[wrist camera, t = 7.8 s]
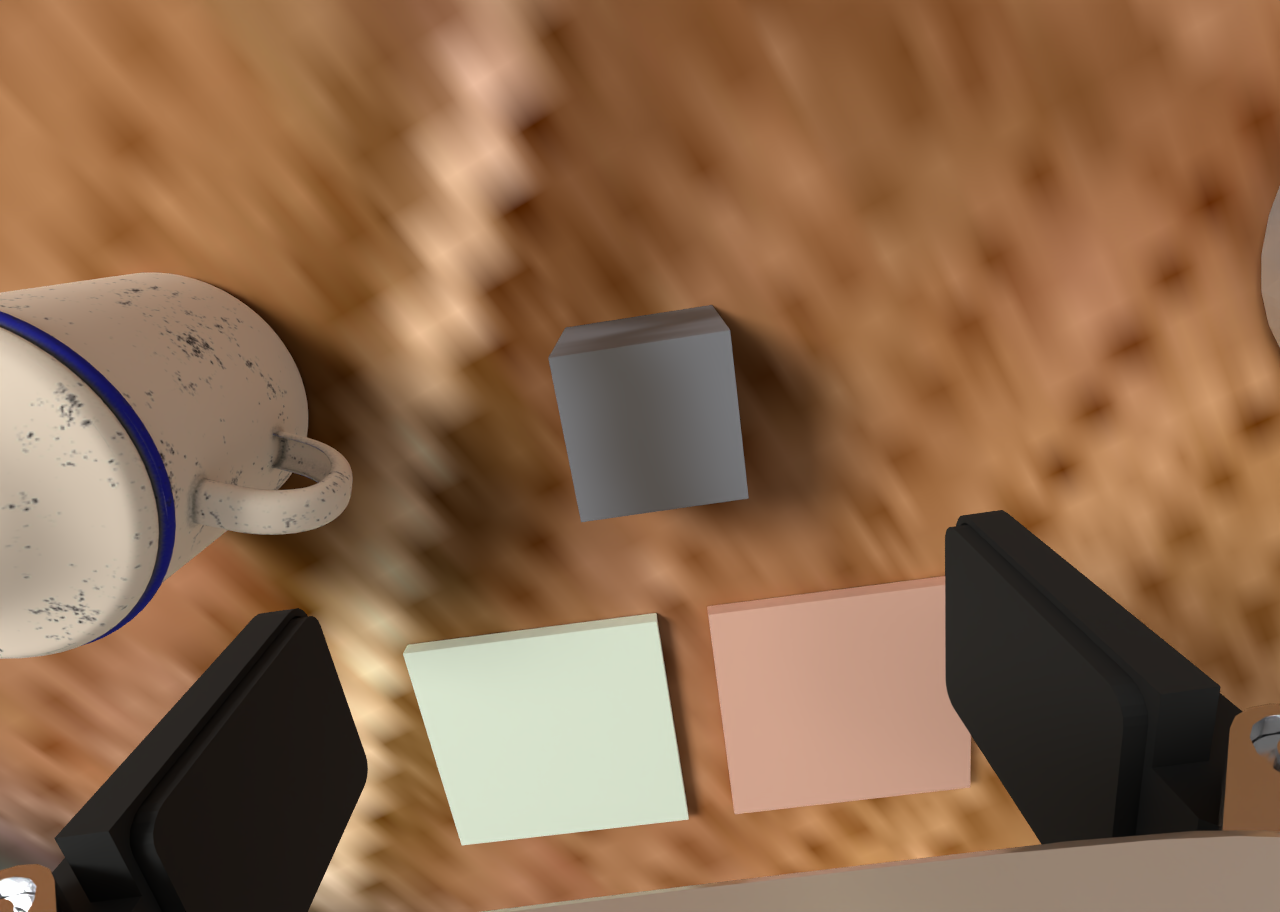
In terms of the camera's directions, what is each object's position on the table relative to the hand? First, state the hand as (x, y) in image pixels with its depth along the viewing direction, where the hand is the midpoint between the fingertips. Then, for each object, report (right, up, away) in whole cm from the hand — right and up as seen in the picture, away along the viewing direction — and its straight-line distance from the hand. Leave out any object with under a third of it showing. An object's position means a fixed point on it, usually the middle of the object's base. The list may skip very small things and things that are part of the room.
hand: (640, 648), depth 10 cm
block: (0, +5, +14) cm, 15 cm away
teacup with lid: (-14, +5, +15) cm, 21 cm away
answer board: (+2, -8, +19) cm, 21 cm away
